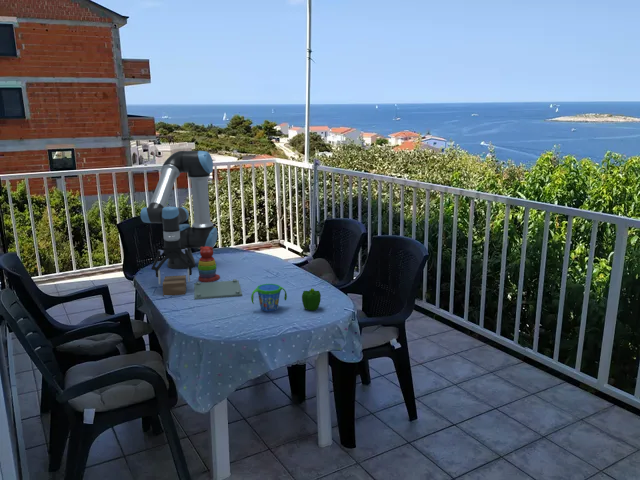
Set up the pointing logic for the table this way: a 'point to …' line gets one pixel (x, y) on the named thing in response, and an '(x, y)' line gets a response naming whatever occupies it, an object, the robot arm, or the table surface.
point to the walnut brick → (174, 285)
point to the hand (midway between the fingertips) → (174, 282)
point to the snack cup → (268, 296)
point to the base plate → (217, 289)
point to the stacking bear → (207, 265)
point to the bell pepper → (311, 299)
